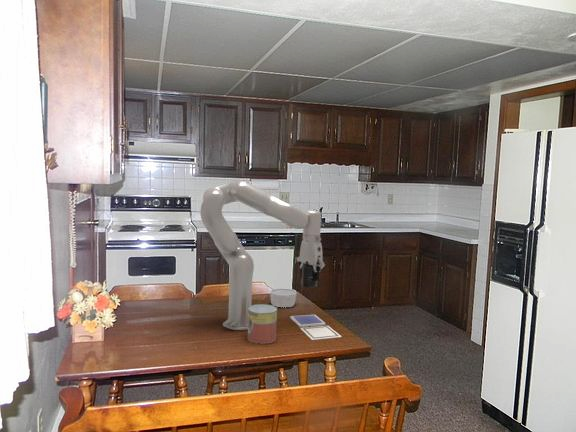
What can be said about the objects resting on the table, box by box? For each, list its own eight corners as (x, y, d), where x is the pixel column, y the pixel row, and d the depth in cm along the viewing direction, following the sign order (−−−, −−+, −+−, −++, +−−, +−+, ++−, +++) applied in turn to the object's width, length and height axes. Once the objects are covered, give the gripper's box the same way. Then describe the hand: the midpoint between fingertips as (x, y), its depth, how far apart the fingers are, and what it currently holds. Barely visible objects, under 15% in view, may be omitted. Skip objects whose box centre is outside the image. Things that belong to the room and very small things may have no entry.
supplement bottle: (311, 288, 185) (312, 261, 184) (298, 285, 189) (299, 258, 188) (320, 285, 190) (321, 258, 189) (307, 282, 195) (308, 256, 193)
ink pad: (325, 325, 188) (325, 322, 188) (299, 327, 184) (300, 325, 184) (314, 316, 199) (314, 314, 199) (290, 318, 195) (290, 315, 195)
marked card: (341, 337, 175) (341, 336, 174) (312, 340, 170) (312, 339, 170) (328, 326, 187) (328, 325, 187) (300, 328, 182) (300, 327, 182)
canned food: (244, 334, 174) (245, 305, 172) (270, 331, 178) (271, 303, 176) (251, 345, 163) (252, 314, 162) (279, 342, 167) (281, 311, 166)
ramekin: (266, 301, 219) (267, 288, 218) (291, 300, 223) (291, 287, 222) (273, 309, 206) (274, 295, 205) (299, 308, 210) (300, 294, 209)
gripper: (332, 240, 184) (330, 281, 186) (303, 235, 197) (301, 273, 198) (320, 242, 179) (318, 284, 181) (291, 236, 191) (289, 276, 193)
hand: (309, 278), depth 189 cm, fingers closed on supplement bottle, 6 cm apart
